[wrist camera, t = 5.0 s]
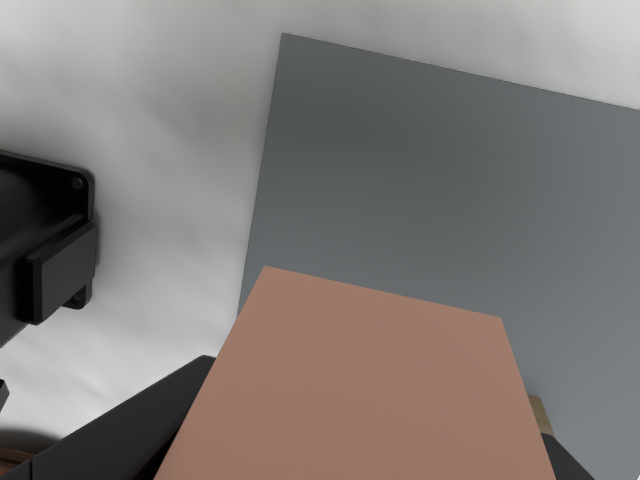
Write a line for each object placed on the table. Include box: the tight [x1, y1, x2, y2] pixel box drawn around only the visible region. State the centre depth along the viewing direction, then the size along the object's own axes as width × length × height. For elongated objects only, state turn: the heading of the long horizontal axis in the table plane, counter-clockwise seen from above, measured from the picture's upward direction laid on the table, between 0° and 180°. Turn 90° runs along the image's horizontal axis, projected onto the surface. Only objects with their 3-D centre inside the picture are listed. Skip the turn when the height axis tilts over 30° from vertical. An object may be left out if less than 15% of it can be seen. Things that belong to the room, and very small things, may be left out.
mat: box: [237, 33, 640, 480], centre depth 26 cm, size 19×34×1 cm, turn 169°
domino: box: [154, 265, 556, 480], centre depth 8 cm, size 2×5×8 cm, turn 79°
